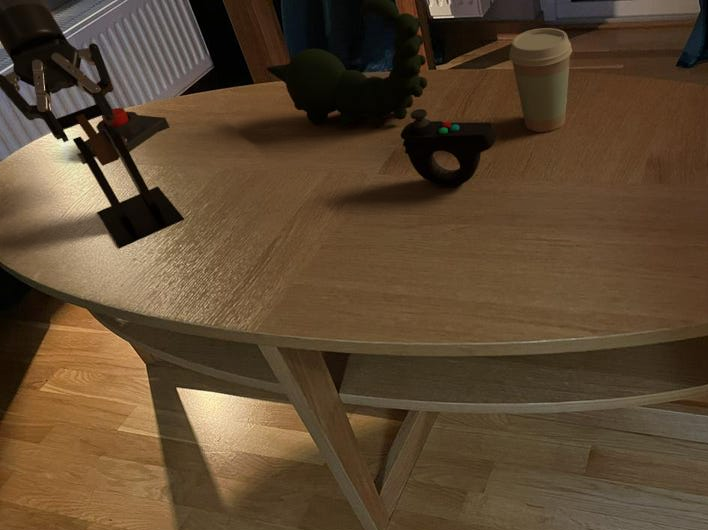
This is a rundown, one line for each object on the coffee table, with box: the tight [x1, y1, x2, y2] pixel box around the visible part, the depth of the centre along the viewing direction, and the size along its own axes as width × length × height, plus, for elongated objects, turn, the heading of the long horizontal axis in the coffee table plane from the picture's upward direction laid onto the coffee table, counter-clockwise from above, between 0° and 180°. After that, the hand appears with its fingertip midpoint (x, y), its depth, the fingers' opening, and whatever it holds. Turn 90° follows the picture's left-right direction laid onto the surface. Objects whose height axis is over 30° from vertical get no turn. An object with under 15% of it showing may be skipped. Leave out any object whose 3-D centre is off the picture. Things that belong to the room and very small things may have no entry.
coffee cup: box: [508, 27, 573, 133], centre depth 98 cm, size 8×8×12 cm
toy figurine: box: [266, 0, 428, 128], centre depth 105 cm, size 9×19×25 cm
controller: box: [400, 108, 498, 188], centre depth 90 cm, size 4×12×10 cm, turn 76°
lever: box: [56, 103, 120, 167], centre depth 93 cm, size 13×6×2 cm, turn 36°
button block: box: [84, 111, 171, 158], centre depth 115 cm, size 11×9×4 cm
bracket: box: [72, 125, 185, 249], centre depth 93 cm, size 12×9×13 cm
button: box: [101, 107, 129, 127], centre depth 113 cm, size 4×4×2 cm
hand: (88, 130), depth 96 cm, fingers closed on lever, 5 cm apart
